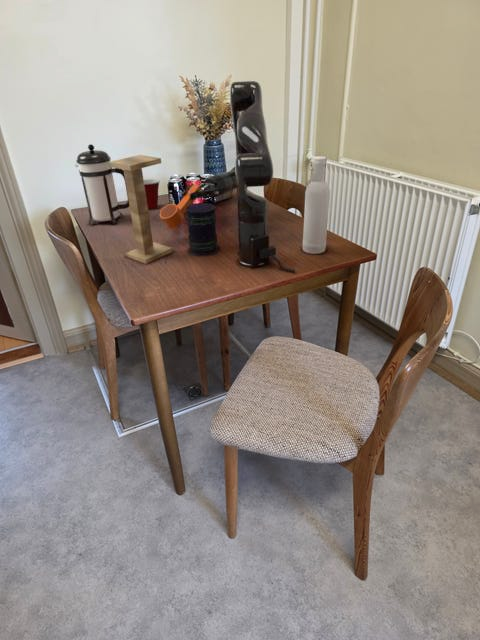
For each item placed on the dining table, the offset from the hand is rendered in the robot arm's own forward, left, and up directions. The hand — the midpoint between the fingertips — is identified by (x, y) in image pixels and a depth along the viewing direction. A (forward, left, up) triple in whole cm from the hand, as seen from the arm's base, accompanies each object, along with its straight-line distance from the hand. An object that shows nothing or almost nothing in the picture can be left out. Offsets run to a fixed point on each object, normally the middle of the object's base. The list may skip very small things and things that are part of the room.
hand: (187, 196), depth 150 cm
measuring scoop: (-1, +2, -4) cm, 4 cm away
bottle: (-36, -29, -15) cm, 49 cm away
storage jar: (-14, +2, -15) cm, 21 cm away
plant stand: (-7, +19, -15) cm, 25 cm away
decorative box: (+34, -29, -15) cm, 47 cm away
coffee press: (+38, +20, -15) cm, 45 cm away
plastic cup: (+44, -1, -15) cm, 46 cm away
